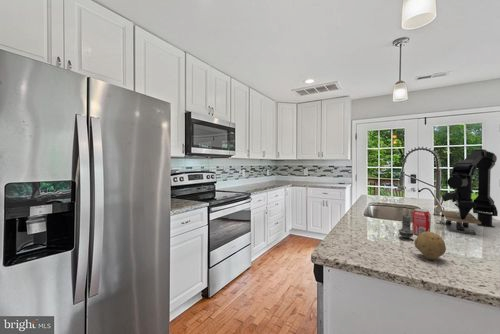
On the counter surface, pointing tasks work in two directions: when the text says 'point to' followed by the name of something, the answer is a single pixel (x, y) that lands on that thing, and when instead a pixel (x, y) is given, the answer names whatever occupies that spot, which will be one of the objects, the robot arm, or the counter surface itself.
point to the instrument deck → (456, 217)
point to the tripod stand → (459, 227)
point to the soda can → (421, 221)
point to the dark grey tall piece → (406, 229)
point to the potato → (430, 245)
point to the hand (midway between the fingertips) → (462, 219)
